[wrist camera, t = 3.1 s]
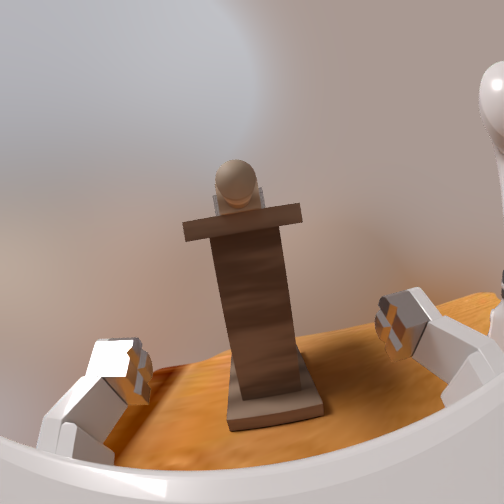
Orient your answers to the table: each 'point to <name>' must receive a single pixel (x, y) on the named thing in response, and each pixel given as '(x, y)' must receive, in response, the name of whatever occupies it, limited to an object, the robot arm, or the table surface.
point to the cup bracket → (218, 207)
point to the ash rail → (236, 188)
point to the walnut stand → (258, 317)
